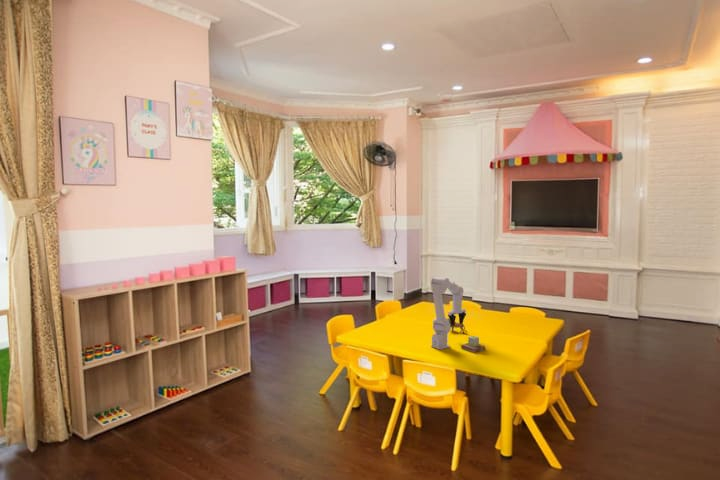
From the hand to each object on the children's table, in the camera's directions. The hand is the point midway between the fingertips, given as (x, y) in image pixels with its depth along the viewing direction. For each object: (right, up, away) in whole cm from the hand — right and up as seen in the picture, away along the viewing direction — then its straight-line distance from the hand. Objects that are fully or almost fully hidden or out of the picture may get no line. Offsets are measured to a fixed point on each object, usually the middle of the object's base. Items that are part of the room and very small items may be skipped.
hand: (456, 324), depth 294 cm
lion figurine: (+3, -8, +16) cm, 19 cm away
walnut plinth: (+5, -12, -21) cm, 25 cm away
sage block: (+6, -9, -21) cm, 23 cm away
